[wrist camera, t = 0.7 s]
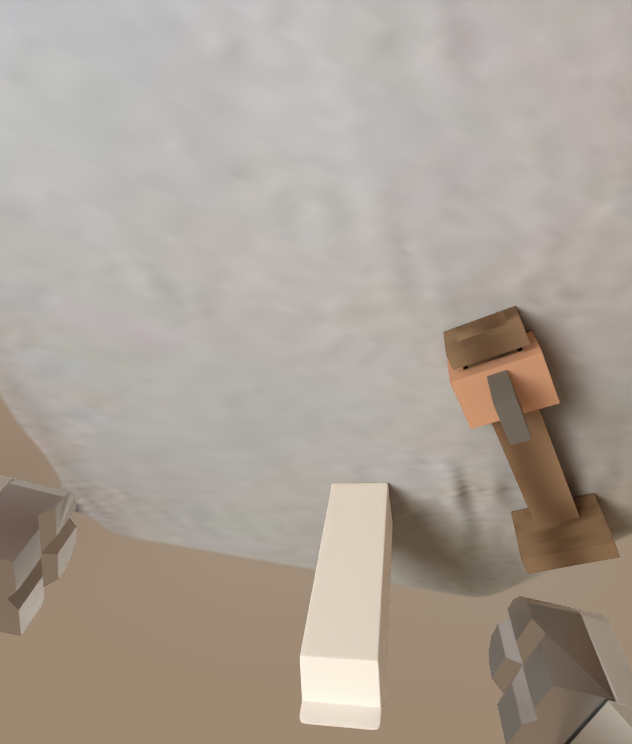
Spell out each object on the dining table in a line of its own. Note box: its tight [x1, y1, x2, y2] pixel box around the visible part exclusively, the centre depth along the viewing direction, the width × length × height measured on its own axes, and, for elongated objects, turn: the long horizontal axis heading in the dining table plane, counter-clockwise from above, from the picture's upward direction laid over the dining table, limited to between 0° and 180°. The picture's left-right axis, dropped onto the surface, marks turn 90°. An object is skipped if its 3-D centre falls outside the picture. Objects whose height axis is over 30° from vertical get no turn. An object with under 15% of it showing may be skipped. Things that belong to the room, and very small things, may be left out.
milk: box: [300, 483, 393, 730], centre depth 46 cm, size 6×6×22 cm
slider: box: [447, 331, 560, 445], centre depth 41 cm, size 7×5×8 cm
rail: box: [444, 306, 620, 574], centre depth 45 cm, size 8×24×6 cm, turn 28°
